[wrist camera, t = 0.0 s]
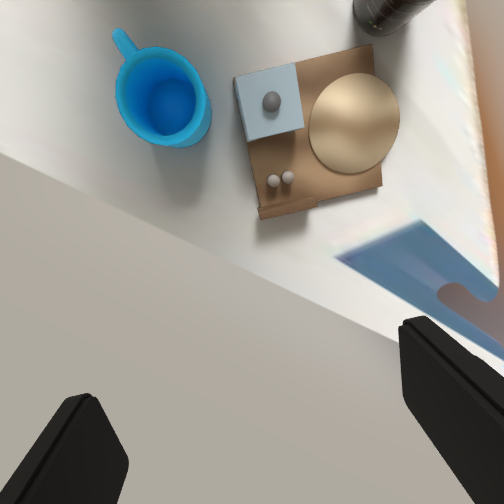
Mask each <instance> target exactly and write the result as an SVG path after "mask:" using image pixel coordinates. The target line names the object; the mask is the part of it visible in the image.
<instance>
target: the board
mask: <svg viewBox="0 0 504 504" xmlns="http://www.w3.org/2000/svg"><path fill="white" fill-rule="evenodd" d="M295 67H296V74H297V81H298V87H299V94H300V100H301V107H302V113H303V120H304V126H305V127H304V128H301V129H299V130H296V131H293V132H284V133H279V134H275V135H271V136H267V137H263V138H259V139H257V140H255V141H251V142H247V139H246V142H247V147H248V152H249V156H250V161H251V165H252V170H253V175H254V179H255V184H256V189H257V193H258V198H259V202H260V207H259V208H257V209H258V214H259V217H260V219H261V220H264V219H268V218H272V217H276V216H281V215H285V214H289V213H293V212H297V211H302V210H306V209H310V208H314V207H318V206H317V201H321V200H326V199H330V198H334V197H338V196H343V195H347V194H351V193H355V192H359V191H364V190H368V189H372V188H376V187H381V186H382V172H381V160H382V159H383V158H384V157H385V156H386V154H387V153H388V152H389V150H390V149H391V147H392V146H393V144H394V142H395V139H396V136H397V133H398V129H399V123H400V113H399V107H398V102H397V100H396V97H395V95H394V93H393V92H392V90H391V89H390V87H389V86H388V85H387V84H386V83H385V82H384V81H382V80H381V79H379V78H377V77H375V76H374V65H373V51H372V44H370V45H365V46H361V47H357V48H353V49H349V50H345V51H341V52H337V53H332V54H328V55H324V56H320V57H316V58H312V59H308V60H304V61H300V62H295ZM233 83H234V87H235V77H234V78H233ZM235 92H236V89H235ZM236 96H237V93H236ZM237 101H238V98H237ZM238 106H239V102H238ZM239 110H240V107H239ZM240 115H241V112H240ZM241 119H242V116H241ZM242 124H243V121H242ZM243 129H244V126H243ZM244 133H245V130H244ZM245 138H246V135H245Z"/></svg>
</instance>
